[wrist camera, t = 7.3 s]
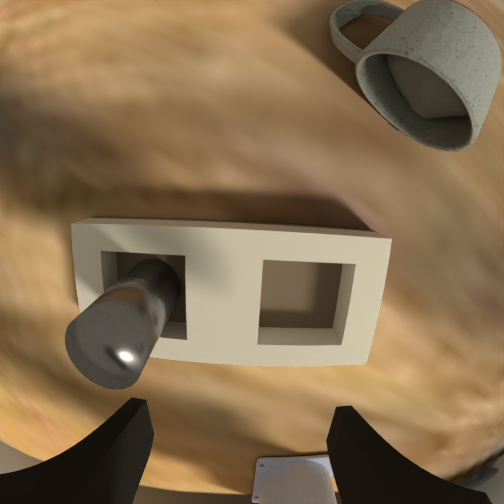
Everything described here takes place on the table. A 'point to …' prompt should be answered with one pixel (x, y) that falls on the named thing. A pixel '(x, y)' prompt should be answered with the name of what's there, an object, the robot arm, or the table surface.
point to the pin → (123, 325)
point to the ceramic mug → (426, 68)
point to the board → (247, 286)
